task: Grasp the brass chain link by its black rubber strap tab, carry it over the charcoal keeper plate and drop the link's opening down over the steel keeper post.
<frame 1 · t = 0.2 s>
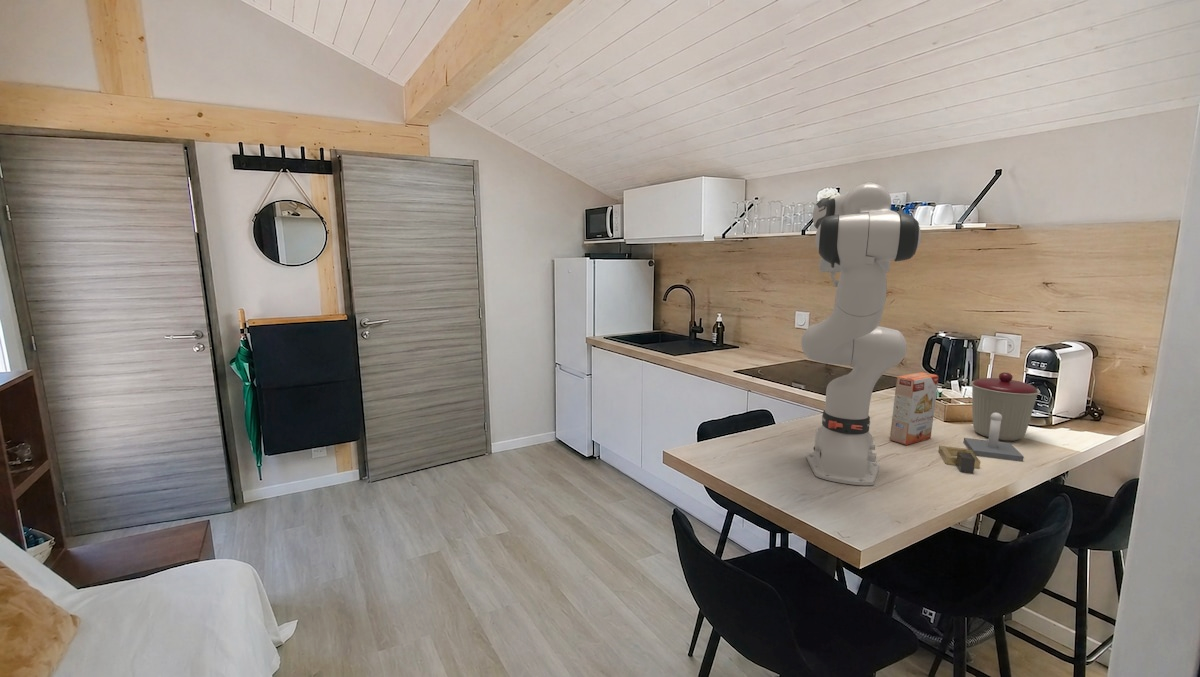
hand: (851, 287, 171), 48 cm above the worktop, fingers open, 8 cm apart
cracker box: (910, 440, 171), on the worktop
canister: (997, 436, 176), on the worktop
keeper: (991, 451, 161), on the worktop
link: (958, 459, 154), on the worktop
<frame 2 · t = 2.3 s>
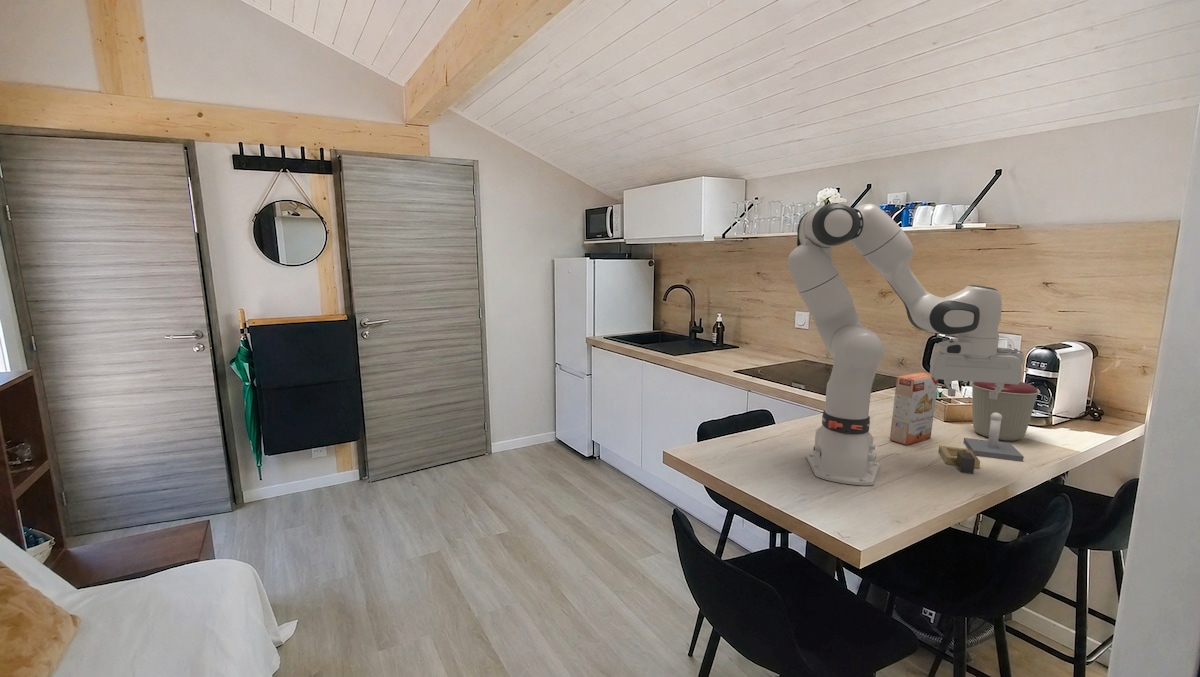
hand: (971, 397, 145), 20 cm above the worktop, fingers open, 8 cm apart
nothing on the worktop moved.
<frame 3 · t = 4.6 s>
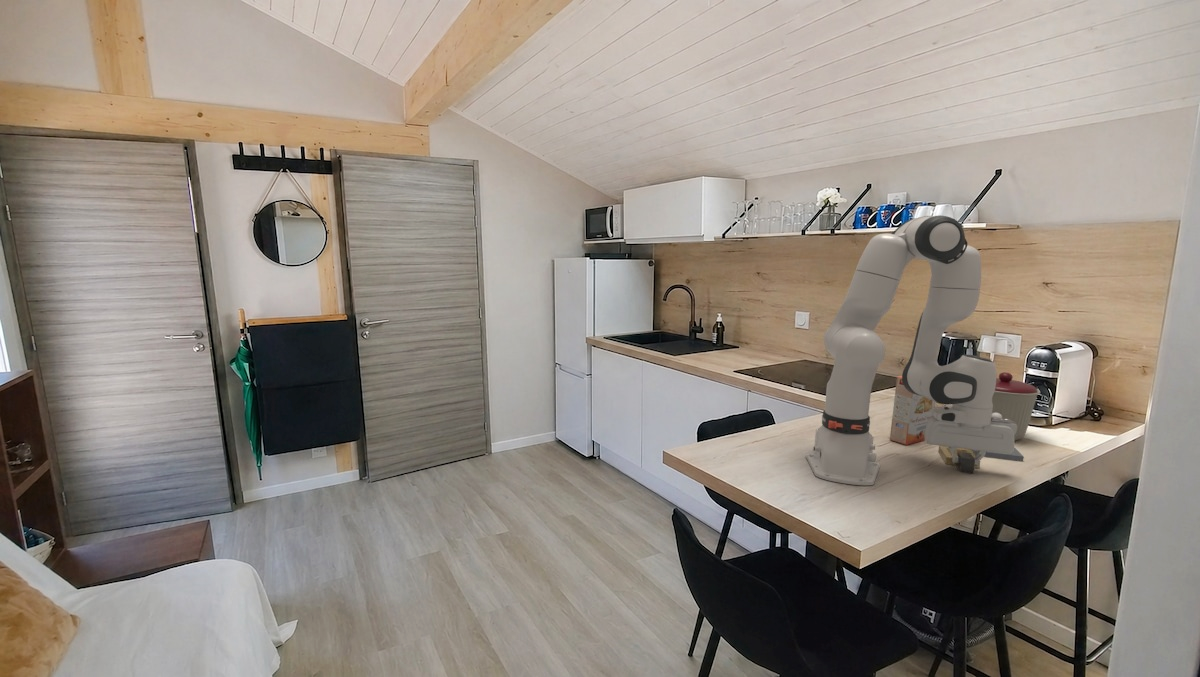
hand: (965, 463, 147), 2 cm above the worktop, fingers closed on link, 3 cm apart
link: (958, 459, 154), on the worktop, touching gripper
everything else where it was.
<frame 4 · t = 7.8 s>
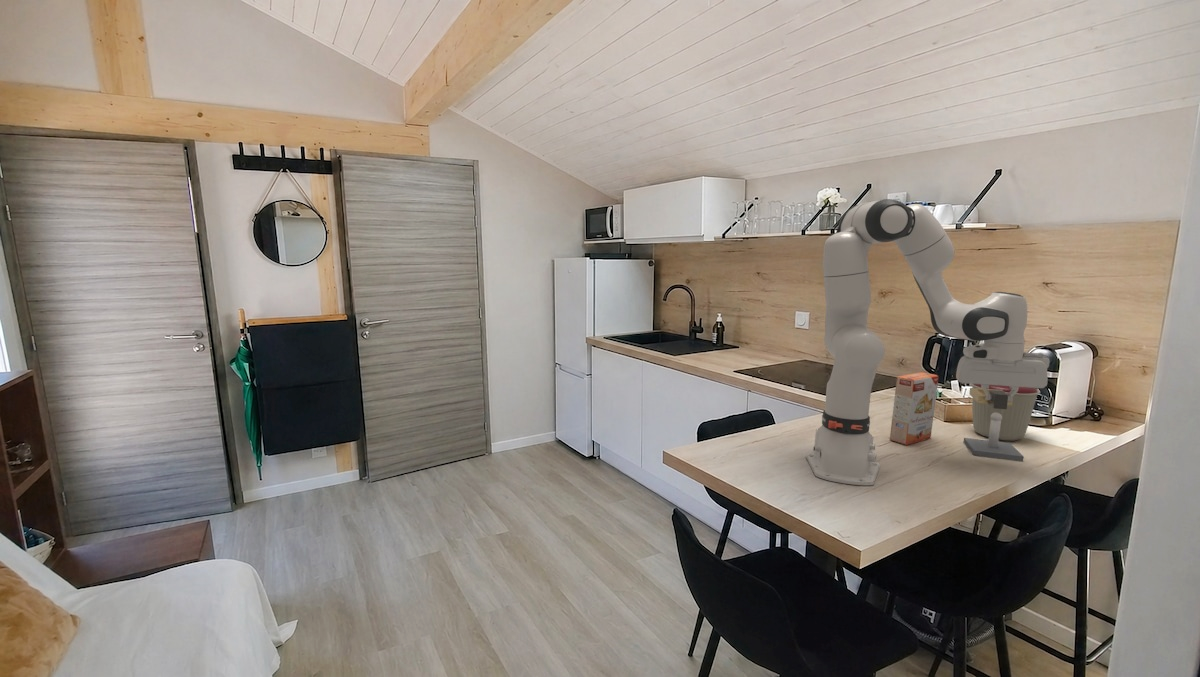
hand: (997, 400, 149), 18 cm above the worktop, fingers closed on link, 3 cm apart
link: (989, 399, 156), point 17 cm above the worktop, touching gripper
everything else where it was.
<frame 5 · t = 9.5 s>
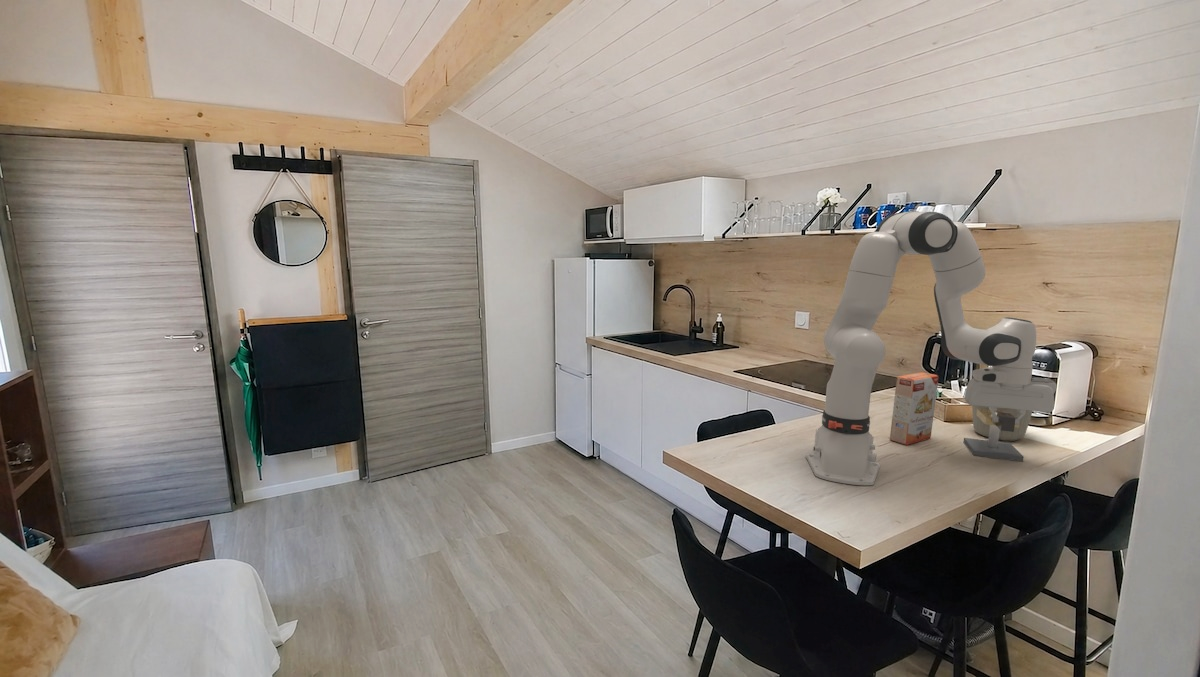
hand: (1005, 423, 153), 11 cm above the worktop, fingers closed on link, 3 cm apart
link: (996, 421, 160), point 9 cm above the worktop, touching gripper
everything else where it was.
when the fingers open (5 cm above the worktop, at t = 10.8 s): link drops 2 cm, resting on keeper.
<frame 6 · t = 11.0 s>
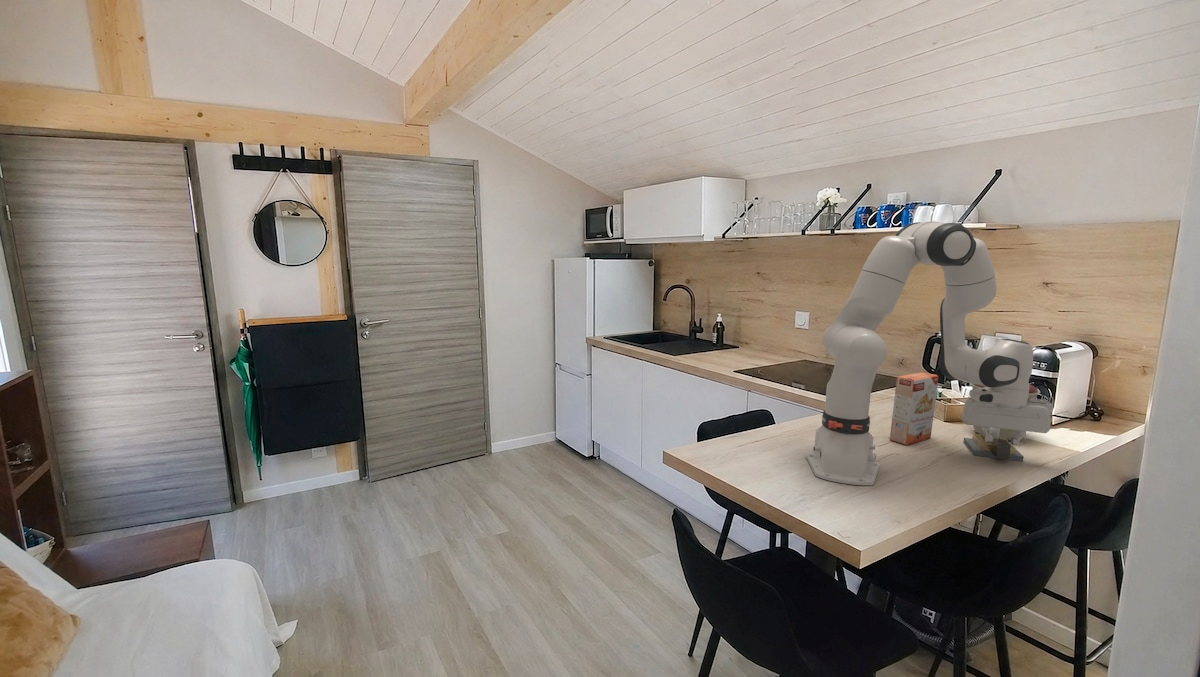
hand: (1001, 443, 154), 5 cm above the worktop, fingers open, 5 cm apart
link: (992, 446, 161), point 1 cm above the worktop, touching keeper
everything else where it was.
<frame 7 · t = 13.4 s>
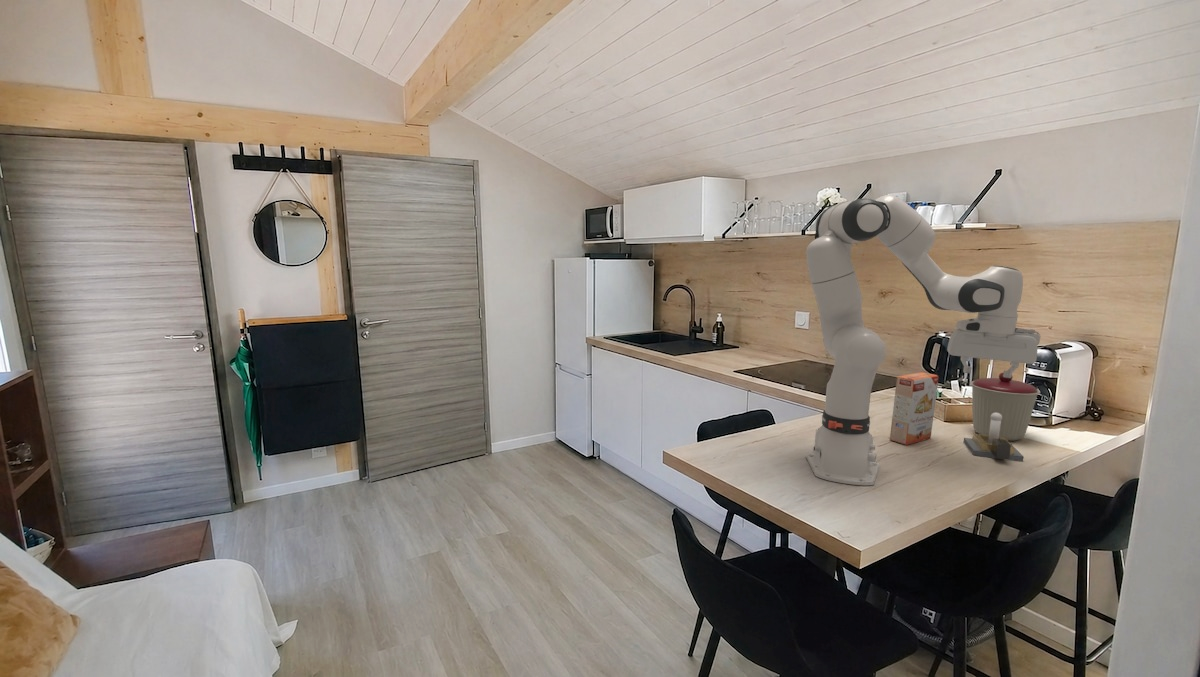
hand: (986, 375, 150), 25 cm above the worktop, fingers open, 8 cm apart
nothing on the worktop moved.
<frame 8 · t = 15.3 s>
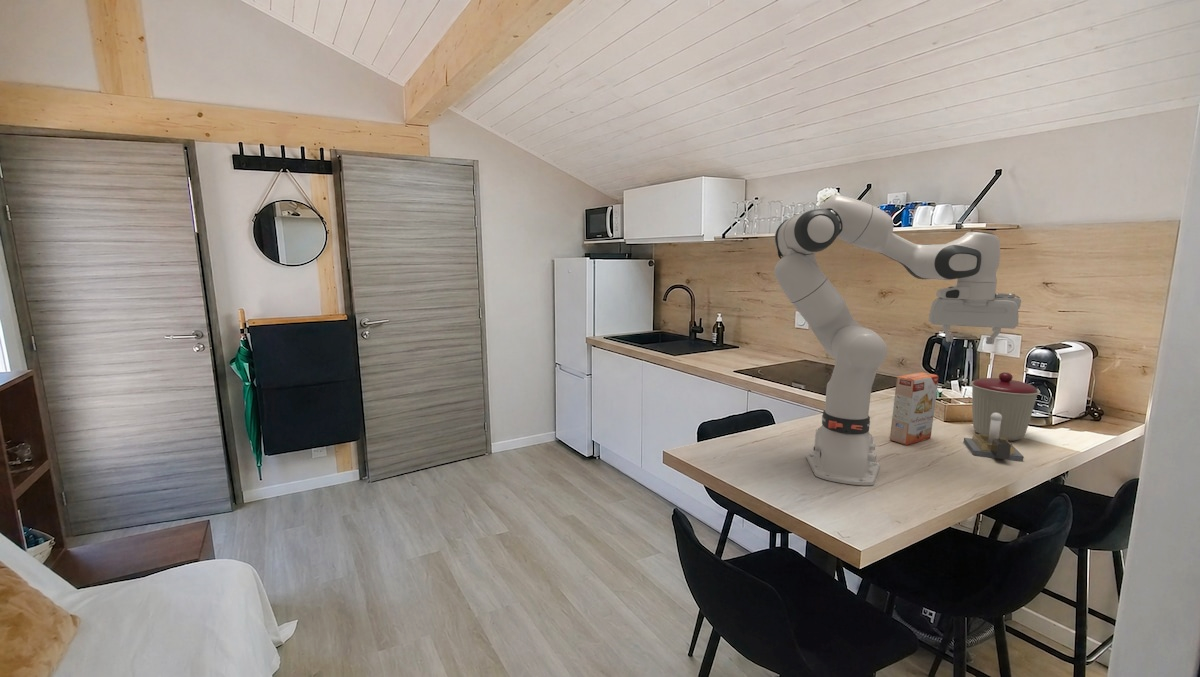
hand: (969, 342, 148), 34 cm above the worktop, fingers open, 8 cm apart
nothing on the worktop moved.
at the end: link 0.2 cm from the keeper (horizontally); link point 1.5 cm above the worktop; the gripper is holding nothing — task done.
